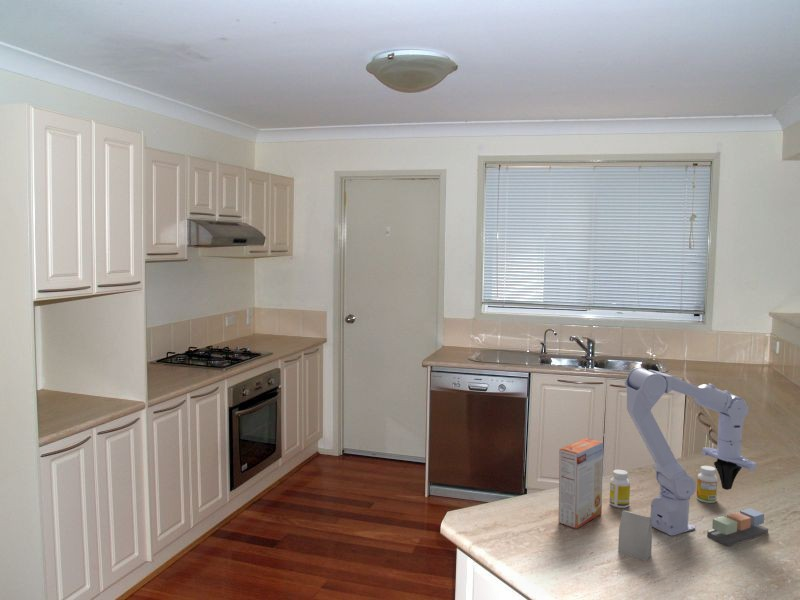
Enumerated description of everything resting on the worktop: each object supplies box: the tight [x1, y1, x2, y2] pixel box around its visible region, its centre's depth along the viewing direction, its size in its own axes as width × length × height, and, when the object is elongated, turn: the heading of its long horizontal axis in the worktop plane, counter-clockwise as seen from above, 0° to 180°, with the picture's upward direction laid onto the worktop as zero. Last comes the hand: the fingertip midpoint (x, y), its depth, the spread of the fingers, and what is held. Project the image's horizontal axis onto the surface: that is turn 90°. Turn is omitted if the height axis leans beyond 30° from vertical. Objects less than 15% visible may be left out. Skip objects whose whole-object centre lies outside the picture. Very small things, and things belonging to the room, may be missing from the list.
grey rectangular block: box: [617, 509, 653, 562], centre depth 157 cm, size 4×7×10 cm, turn 51°
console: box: [706, 524, 769, 547], centre depth 167 cm, size 16×6×2 cm, turn 118°
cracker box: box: [558, 437, 604, 530], centre depth 175 cm, size 14×6×21 cm, turn 135°
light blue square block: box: [739, 507, 765, 526], centre depth 170 cm, size 4×4×3 cm
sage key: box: [711, 515, 737, 535], centre depth 164 cm, size 4×4×3 cm
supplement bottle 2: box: [696, 465, 719, 504], centre depth 190 cm, size 5×5×10 cm
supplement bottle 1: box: [609, 469, 631, 509], centre depth 186 cm, size 5×5×10 cm
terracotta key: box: [726, 511, 751, 531], centre depth 167 cm, size 4×4×3 cm
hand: (726, 488), depth 173 cm, fingers closed
